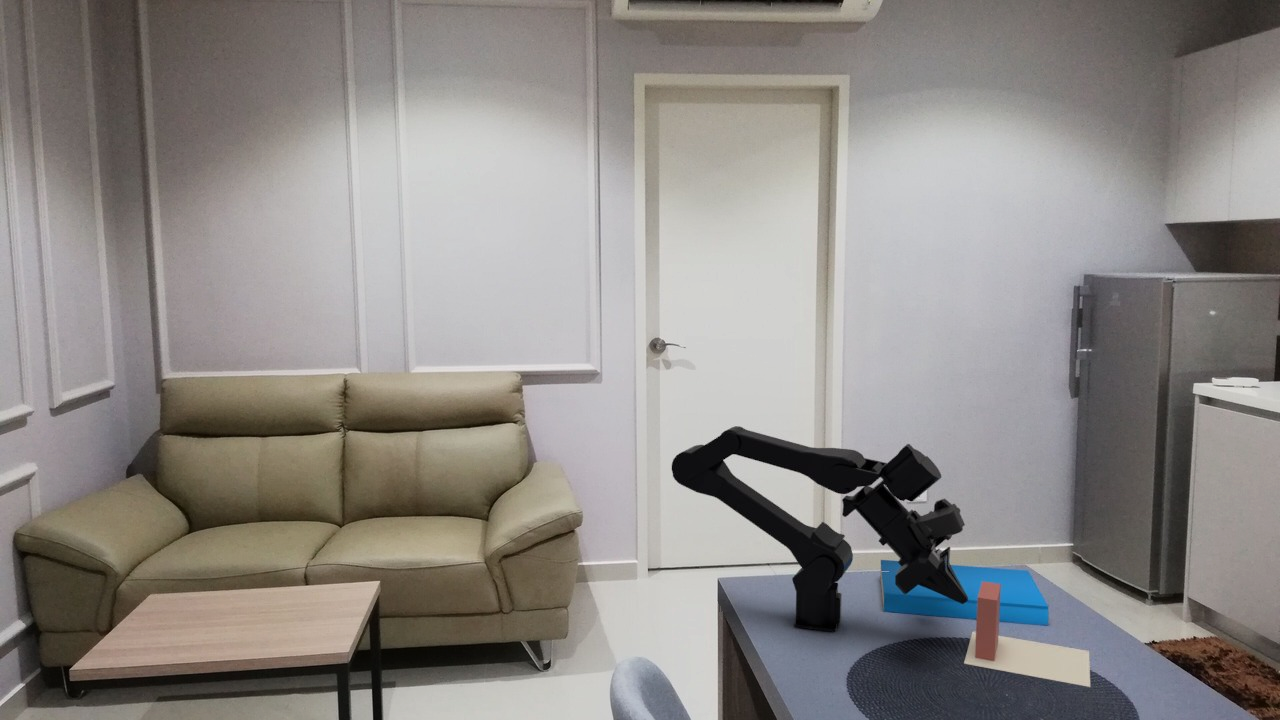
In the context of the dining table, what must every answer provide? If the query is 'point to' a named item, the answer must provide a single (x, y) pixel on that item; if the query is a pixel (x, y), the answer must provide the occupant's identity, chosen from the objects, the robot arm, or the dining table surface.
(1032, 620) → the book
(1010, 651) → the mat
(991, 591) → the card box
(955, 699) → the dining table surface
